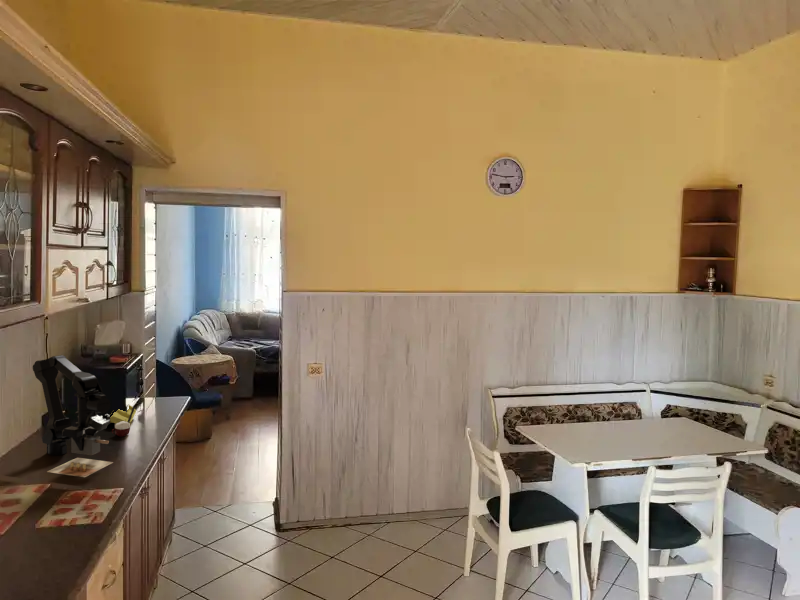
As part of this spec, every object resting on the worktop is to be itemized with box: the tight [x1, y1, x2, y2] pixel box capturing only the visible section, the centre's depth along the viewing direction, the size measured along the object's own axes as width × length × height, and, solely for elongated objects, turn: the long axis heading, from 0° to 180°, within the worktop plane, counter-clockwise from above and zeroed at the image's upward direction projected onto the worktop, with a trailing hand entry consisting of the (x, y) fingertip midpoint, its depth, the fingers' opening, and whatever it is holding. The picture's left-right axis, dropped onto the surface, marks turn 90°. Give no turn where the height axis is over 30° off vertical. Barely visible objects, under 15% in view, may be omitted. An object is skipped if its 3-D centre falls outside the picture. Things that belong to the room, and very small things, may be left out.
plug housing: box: [70, 435, 110, 456], centre depth 236 cm, size 14×4×6 cm, turn 79°
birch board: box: [46, 457, 114, 478], centre depth 232 cm, size 16×16×2 cm
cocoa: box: [111, 406, 136, 437], centre depth 274 cm, size 10×6×12 cm, turn 109°
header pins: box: [71, 462, 86, 472], centre depth 227 cm, size 6×1×3 cm, turn 79°
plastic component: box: [110, 404, 137, 425], centre depth 294 cm, size 20×7×10 cm
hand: (85, 448), depth 236 cm, fingers closed on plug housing, 4 cm apart
